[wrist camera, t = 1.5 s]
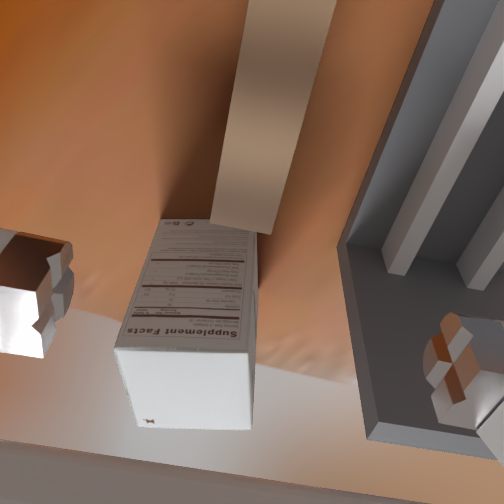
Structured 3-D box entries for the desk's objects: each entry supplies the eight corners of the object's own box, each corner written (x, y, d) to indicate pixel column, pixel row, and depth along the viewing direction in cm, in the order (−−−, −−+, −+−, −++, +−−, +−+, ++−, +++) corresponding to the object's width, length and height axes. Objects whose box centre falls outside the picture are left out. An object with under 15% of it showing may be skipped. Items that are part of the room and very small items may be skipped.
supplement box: (260, 292, 39) (253, 434, 29) (169, 290, 39) (132, 430, 29) (260, 216, 34) (252, 354, 24) (157, 214, 34) (107, 350, 24)
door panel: (272, 144, 31) (270, 234, 23) (227, 134, 30) (209, 223, 22) (327, -77, 23) (352, -57, 15) (268, -92, 23) (262, -79, 15)
